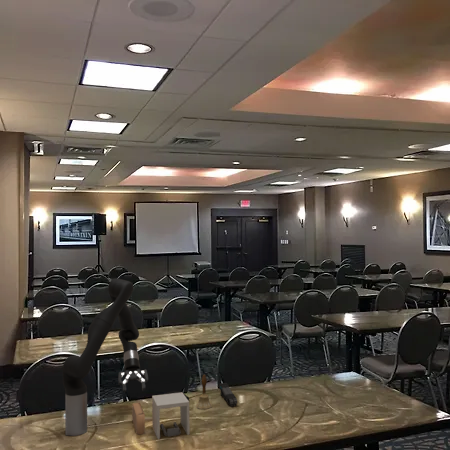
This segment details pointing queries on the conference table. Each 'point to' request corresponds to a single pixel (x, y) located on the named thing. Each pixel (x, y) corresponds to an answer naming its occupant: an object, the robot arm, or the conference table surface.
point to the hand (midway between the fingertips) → (134, 391)
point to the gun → (227, 394)
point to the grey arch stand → (170, 402)
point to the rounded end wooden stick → (138, 418)
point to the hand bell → (204, 396)
